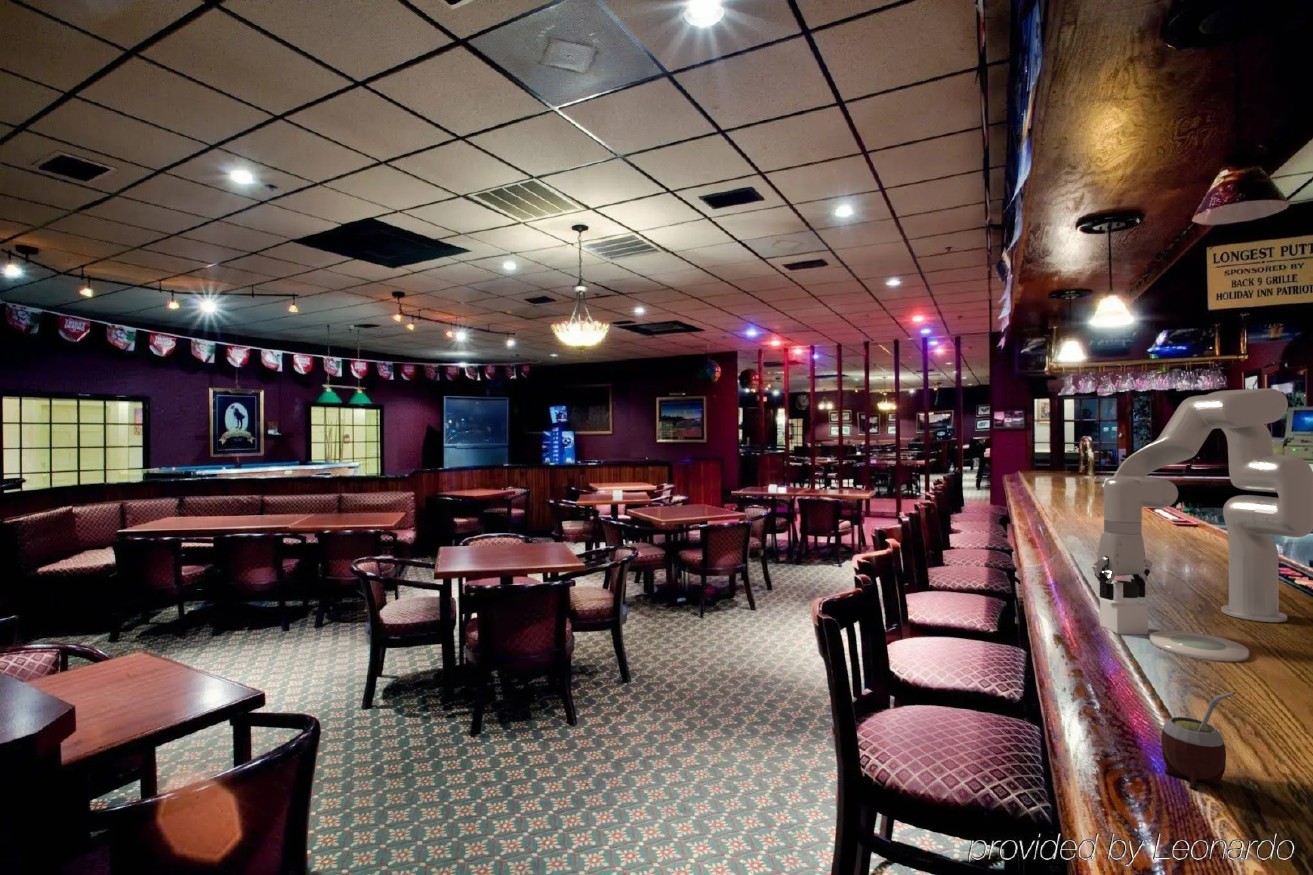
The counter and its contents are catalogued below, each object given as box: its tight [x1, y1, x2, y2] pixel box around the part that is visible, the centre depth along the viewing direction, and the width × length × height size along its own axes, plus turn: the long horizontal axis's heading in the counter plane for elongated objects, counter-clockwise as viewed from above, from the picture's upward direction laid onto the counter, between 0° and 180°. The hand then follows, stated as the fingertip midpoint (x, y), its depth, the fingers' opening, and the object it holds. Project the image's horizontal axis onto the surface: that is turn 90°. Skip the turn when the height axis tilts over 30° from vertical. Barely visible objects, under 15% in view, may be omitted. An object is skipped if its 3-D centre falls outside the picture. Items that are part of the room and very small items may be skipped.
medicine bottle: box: [1099, 579, 1149, 636], centre depth 156 cm, size 7×7×12 cm
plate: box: [1149, 630, 1250, 663], centre depth 143 cm, size 17×17×1 cm
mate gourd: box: [1161, 691, 1237, 792], centre depth 89 cm, size 8×8×15 cm
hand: (1122, 597), depth 156 cm, fingers open, 9 cm apart
